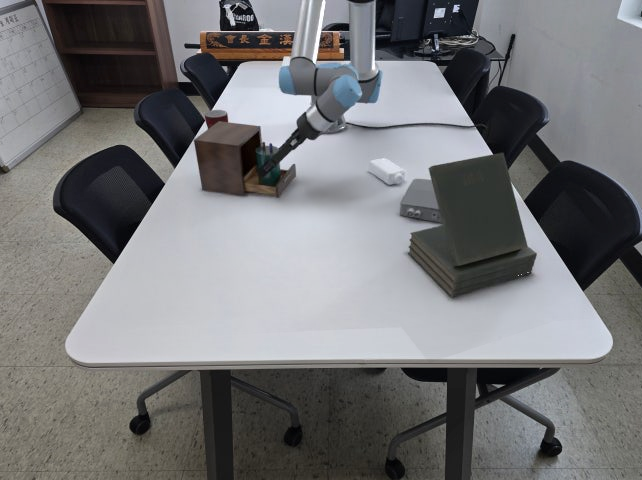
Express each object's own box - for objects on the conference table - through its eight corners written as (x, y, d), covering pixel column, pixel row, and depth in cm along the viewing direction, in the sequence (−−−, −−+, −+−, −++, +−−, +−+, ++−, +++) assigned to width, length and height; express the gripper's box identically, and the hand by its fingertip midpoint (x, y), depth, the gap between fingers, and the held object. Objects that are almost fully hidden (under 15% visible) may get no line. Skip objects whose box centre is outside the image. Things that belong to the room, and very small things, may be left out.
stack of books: (450, 298, 112) (469, 200, 97) (407, 253, 126) (418, 161, 111) (531, 275, 119) (560, 180, 104) (481, 234, 134) (501, 146, 118)
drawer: (297, 176, 158) (296, 164, 156) (280, 198, 147) (279, 185, 144) (256, 170, 161) (255, 158, 159) (236, 191, 149) (235, 178, 147)
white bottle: (390, 188, 155) (391, 175, 152) (368, 172, 164) (369, 160, 161) (407, 183, 157) (408, 171, 155) (384, 168, 166) (385, 156, 164)
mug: (223, 148, 178) (220, 120, 172) (202, 146, 179) (198, 119, 173) (233, 137, 186) (230, 110, 180) (213, 135, 187) (209, 109, 181)
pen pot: (281, 177, 156) (278, 137, 149) (280, 187, 151) (278, 146, 143) (259, 177, 156) (255, 137, 148) (257, 187, 150) (253, 147, 142)
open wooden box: (264, 174, 162) (260, 126, 152) (244, 196, 149) (238, 145, 140) (225, 168, 164) (219, 121, 155) (202, 189, 152) (193, 139, 142)
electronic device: (474, 233, 134) (478, 217, 131) (397, 218, 140) (398, 202, 137) (483, 201, 148) (486, 186, 145) (413, 189, 154) (414, 174, 151)
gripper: (319, 97, 146) (274, 140, 158) (290, 126, 127) (242, 172, 139) (336, 117, 148) (291, 158, 160) (310, 148, 129) (261, 192, 141)
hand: (268, 165), depth 150 cm, fingers open, 13 cm apart
